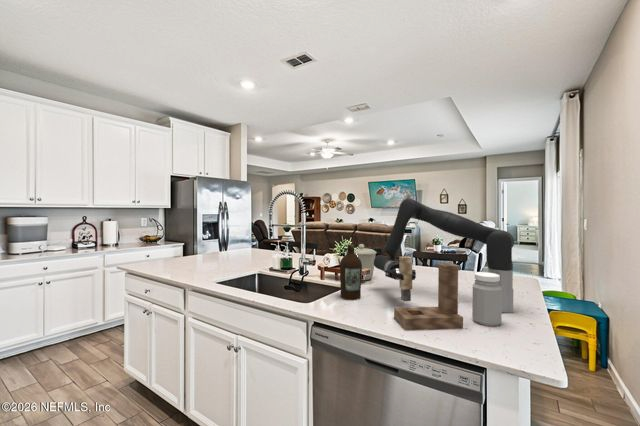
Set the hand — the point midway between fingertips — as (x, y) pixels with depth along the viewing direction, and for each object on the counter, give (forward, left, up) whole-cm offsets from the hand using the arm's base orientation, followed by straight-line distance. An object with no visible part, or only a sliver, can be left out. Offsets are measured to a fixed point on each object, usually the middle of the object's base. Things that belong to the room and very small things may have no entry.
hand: (408, 277), depth 126 cm
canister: (+36, -50, -14) cm, 63 cm away
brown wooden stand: (-9, +9, -14) cm, 19 cm away
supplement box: (-34, -50, -14) cm, 63 cm away
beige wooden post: (+1, -2, -10) cm, 10 cm away
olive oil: (+28, -10, -14) cm, 34 cm away
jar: (-28, -1, -14) cm, 32 cm away
